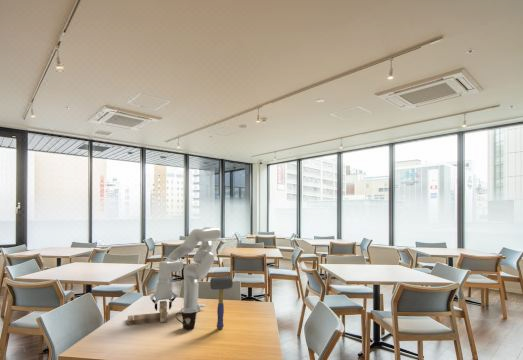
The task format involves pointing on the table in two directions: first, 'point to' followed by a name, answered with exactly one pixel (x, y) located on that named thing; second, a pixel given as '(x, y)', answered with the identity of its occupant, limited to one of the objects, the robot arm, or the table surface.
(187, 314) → the coffee mug
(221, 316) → the rubber mallet
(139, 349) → the table surface
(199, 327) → the table surface
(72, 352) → the table surface
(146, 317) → the walnut board
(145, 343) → the table surface
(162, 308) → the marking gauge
